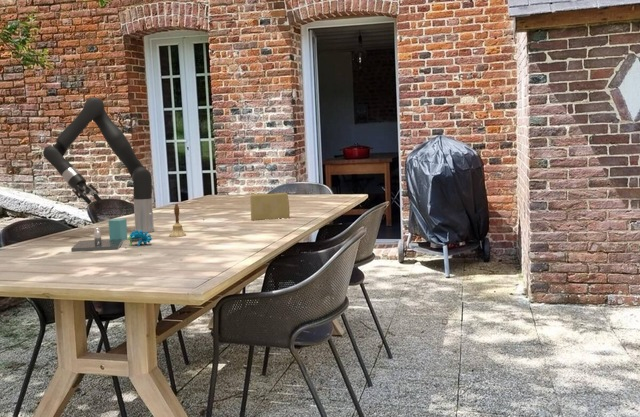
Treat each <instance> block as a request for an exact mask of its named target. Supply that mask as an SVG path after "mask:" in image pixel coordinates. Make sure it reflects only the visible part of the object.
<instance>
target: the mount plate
mask: <svg viewBox="0 0 640 417" xmlns="http://www.w3.org/2000/svg"><path fill="white" fill-rule="evenodd" d="M93 239H94V240H91V239H90V240H79V241H78V242H77V243H75V244H74V245H73V246H72V247H71V250H70V251H71V252H93V251H95V252H96V251H111V250H113V251H115V250H119V248H121V246H122V245H123V243H124V240H123V239H112V240H110V239H102V230H101V228H100V227H94V229H93Z"/></svg>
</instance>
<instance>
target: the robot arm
mask: <svg viewBox="0 0 640 417" xmlns="http://www.w3.org/2000/svg"><path fill="white" fill-rule="evenodd" d="M92 121H93V123H95V125H96V126H97V127H98V129H99V130H100V133H101V135H102V137H103V138H104V140H105V141H106V143H107V145H108V146H109V147H110V149H111V150H112V152H113V154H115V155H116V157H117V158H118V159H119V160H120V161H121V163H122V164H123V165H124V166H125V168H126V169H127V171H128V173H129V176H130V177H131V179H132V184H133V193H132V194H133V210H134V211H133V214H134V231H135V230H138V232H140V230H142V231H143V233H145V232H148V233H151V232H154V231H155V230H154V229H155V227H154V226H155V224H154V212H153V198H152V197H153V196H152V195H153V185H152V184H153V183H152V181H153V180H152V179H153V178H152V174H151V172H150V171H149V170H148V169H147V168H146V167H145V166H144V165H143V164H142V162H141V161H140V160H139V158H138V156H137V155H136V153H135V151H134V149H133V147H132V145H131V143H130V141H129V140H128V139H127V137H126V136H125V134H124V133H123V131H121V129H120V128H119V127H118V126H117V124H115V122H113V121H112V119H111V118H110V117H109V115H108V113H107V111H106V109H105V103H104V101H103V100H102V99H101V98H100V97H97V96H96V97H95V96H93V97H89V98H88V99H86V101H85V102H84V106H83V108H82V110H81V111H80V112H79V114H78V115H77V116H76V117H75V118H74V119H73V120H72V122H70V123H69V124H68V125H67V126H66V127H65V128H64V129H63V130H62V131H61V133H60V134H59V135H58V136H57V138H56V139H55V141H56V142H55V145H54V146H53V145H48V146H46V147H44V148H43V151H42V154H43V155H42V156H43V157H44V159H46V161H47V162H49V163H50V164H51V166H53V168H54V169H55V170H56V171H57V173H59V174H60V176H61V177H62V178H63V180H64V181H65V182H66V183H67V184H68V185H69V187H70V188H72V189H71V191H72V192H73V193H74V195H75V196H76V197H77V199H81V200H84V201H85V203H86V204H87V205H90V204H91V203H92V200H91V199H90V198H89V196H91V197H93V198H94V199H95V200H96V202H97V203H101V201H102V198H101V196H99V193H100V192H99V190H97V188H96V187H94V185H92V184H91V183H90V184H89V185H88V184H86V183H87V180H86V178H85V177H84V176H83V174H81V173H80V172H79V170H77V169H76V168H75V167H74V166H73V165H72V164H71V162H70V161H68V159H66V158H65V157H64V156H65V155H66V153H67V151H68V149H69V147H70V146H71V145H72V144H73V143H74V142H75V141H76V140H77V139H78V137H79V136H80V134H81V133H82V132H83V131H84V130H85V128H86V127H87V126H88V125H89V124H90V123H91V122H92ZM87 195H88V196H87Z"/></svg>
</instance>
